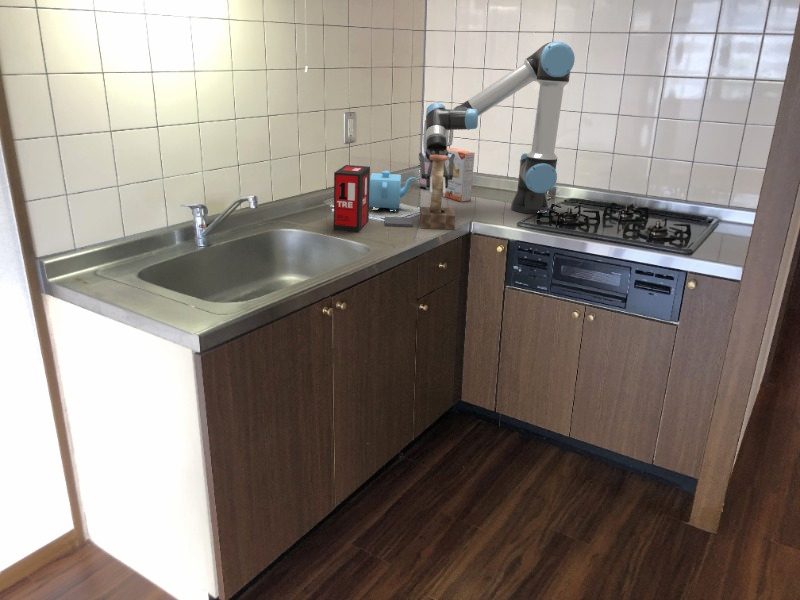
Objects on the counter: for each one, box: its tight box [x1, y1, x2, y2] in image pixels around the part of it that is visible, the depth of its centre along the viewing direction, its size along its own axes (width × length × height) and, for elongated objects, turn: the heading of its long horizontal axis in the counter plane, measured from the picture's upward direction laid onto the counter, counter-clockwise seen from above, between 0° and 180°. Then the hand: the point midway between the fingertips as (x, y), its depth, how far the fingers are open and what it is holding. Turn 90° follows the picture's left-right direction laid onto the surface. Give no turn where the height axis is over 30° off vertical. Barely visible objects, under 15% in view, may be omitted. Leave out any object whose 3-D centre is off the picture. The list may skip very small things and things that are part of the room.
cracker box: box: [442, 147, 476, 203], centre depth 281 cm, size 14×6×21 cm, turn 36°
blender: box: [419, 119, 454, 191], centre depth 299 cm, size 16×12×32 cm
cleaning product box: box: [333, 164, 371, 233], centre depth 230 cm, size 16×9×20 cm, turn 171°
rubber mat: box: [384, 216, 414, 228], centre depth 240 cm, size 10×10×1 cm
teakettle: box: [369, 170, 417, 211], centre depth 259 cm, size 19×19×15 cm
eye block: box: [419, 206, 456, 230], centre depth 240 cm, size 12×12×5 cm
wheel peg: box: [429, 155, 448, 213], centre depth 236 cm, size 6×6×21 cm
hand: (437, 194), depth 233 cm, fingers closed on wheel peg, 4 cm apart
